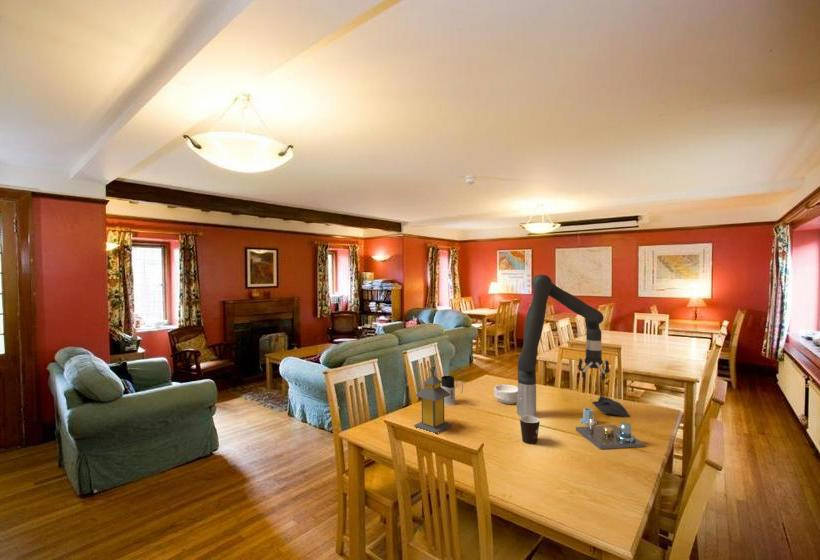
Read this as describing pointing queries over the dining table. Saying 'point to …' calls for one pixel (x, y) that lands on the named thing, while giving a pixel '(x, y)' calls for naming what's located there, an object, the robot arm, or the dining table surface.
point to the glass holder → (449, 389)
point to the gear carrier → (610, 436)
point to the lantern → (433, 405)
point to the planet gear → (587, 416)
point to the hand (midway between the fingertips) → (593, 379)
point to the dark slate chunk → (610, 407)
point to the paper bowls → (506, 393)
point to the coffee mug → (529, 429)
